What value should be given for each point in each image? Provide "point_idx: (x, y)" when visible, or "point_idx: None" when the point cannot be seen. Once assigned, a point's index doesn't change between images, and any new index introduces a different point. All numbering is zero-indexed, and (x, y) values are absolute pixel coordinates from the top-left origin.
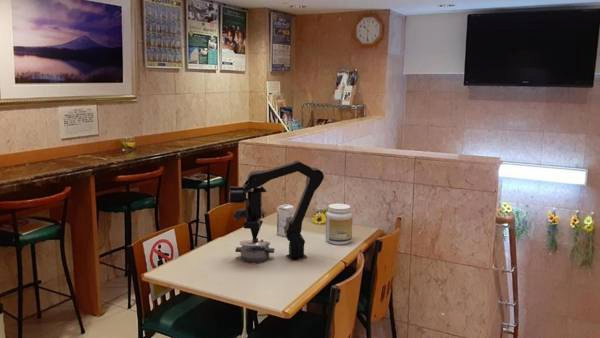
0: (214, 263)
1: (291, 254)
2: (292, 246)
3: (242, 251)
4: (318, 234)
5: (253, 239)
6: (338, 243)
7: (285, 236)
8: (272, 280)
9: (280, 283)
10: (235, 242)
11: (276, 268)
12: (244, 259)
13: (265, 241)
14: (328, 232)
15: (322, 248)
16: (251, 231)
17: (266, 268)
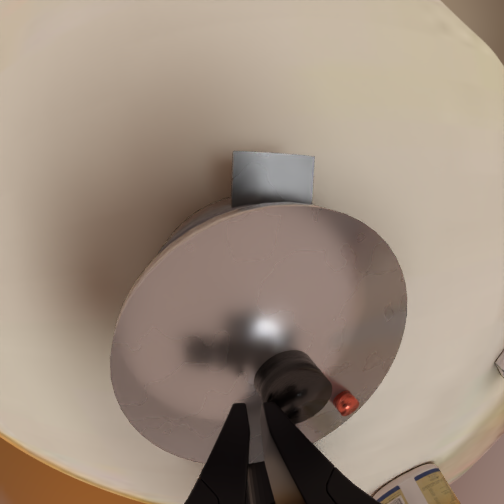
0: (134, 34)
1: (257, 464)
2: (257, 500)
3: (176, 235)
4: (470, 430)
5: (269, 390)
6: (374, 497)
7: (496, 363)
8: (6, 378)
9: (2, 396)
10: (499, 149)
11: (113, 406)
12: (167, 240)
13: (338, 416)
14: (409, 499)
15: (358, 481)
16: (189, 496)
17: (97, 369)
